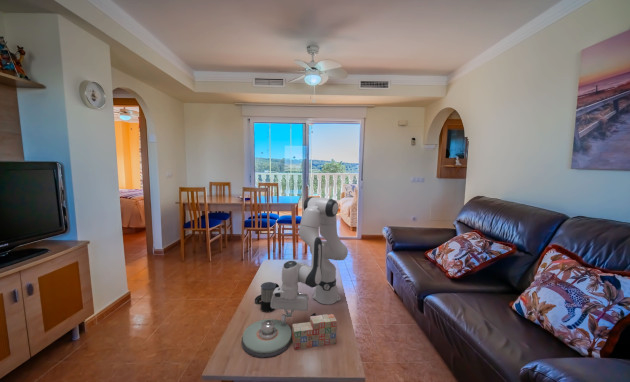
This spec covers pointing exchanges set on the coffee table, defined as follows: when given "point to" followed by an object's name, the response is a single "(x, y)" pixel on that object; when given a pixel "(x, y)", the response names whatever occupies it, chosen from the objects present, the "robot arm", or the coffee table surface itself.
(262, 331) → the cover
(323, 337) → the stack of blocks
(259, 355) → the turntable base
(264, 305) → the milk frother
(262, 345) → the turntable
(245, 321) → the coffee table surface
